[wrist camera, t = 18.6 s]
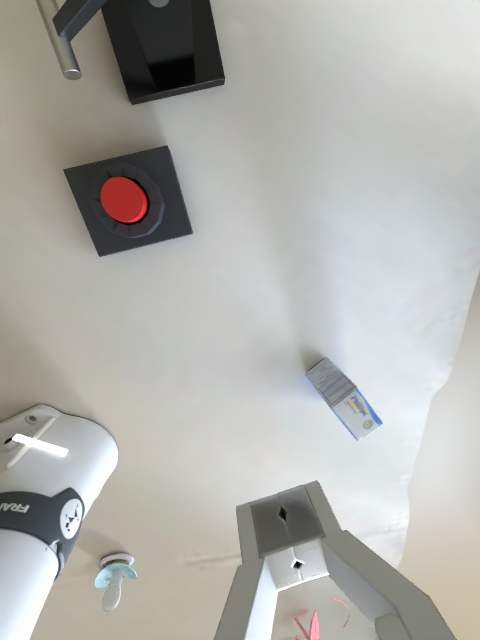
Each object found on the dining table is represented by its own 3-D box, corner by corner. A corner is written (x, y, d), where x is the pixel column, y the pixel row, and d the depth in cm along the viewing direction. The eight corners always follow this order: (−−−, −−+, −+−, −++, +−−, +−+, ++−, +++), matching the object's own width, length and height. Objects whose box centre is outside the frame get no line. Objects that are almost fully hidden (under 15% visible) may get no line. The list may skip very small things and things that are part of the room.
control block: (105, 255, 31) (91, 258, 27) (72, 173, 28) (51, 164, 24) (193, 233, 31) (191, 233, 28) (170, 151, 28) (164, 138, 25)
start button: (116, 226, 27) (110, 225, 25) (100, 185, 26) (93, 181, 24) (153, 217, 27) (149, 216, 25) (139, 176, 26) (134, 172, 24)
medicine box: (303, 372, 40) (328, 408, 32) (326, 355, 40) (358, 386, 31) (328, 403, 43) (357, 443, 34) (350, 387, 42) (385, 424, 34)
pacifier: (93, 555, 47) (103, 576, 49) (77, 601, 41) (89, 622, 43) (133, 546, 48) (142, 566, 49) (123, 589, 42) (133, 611, 43)
